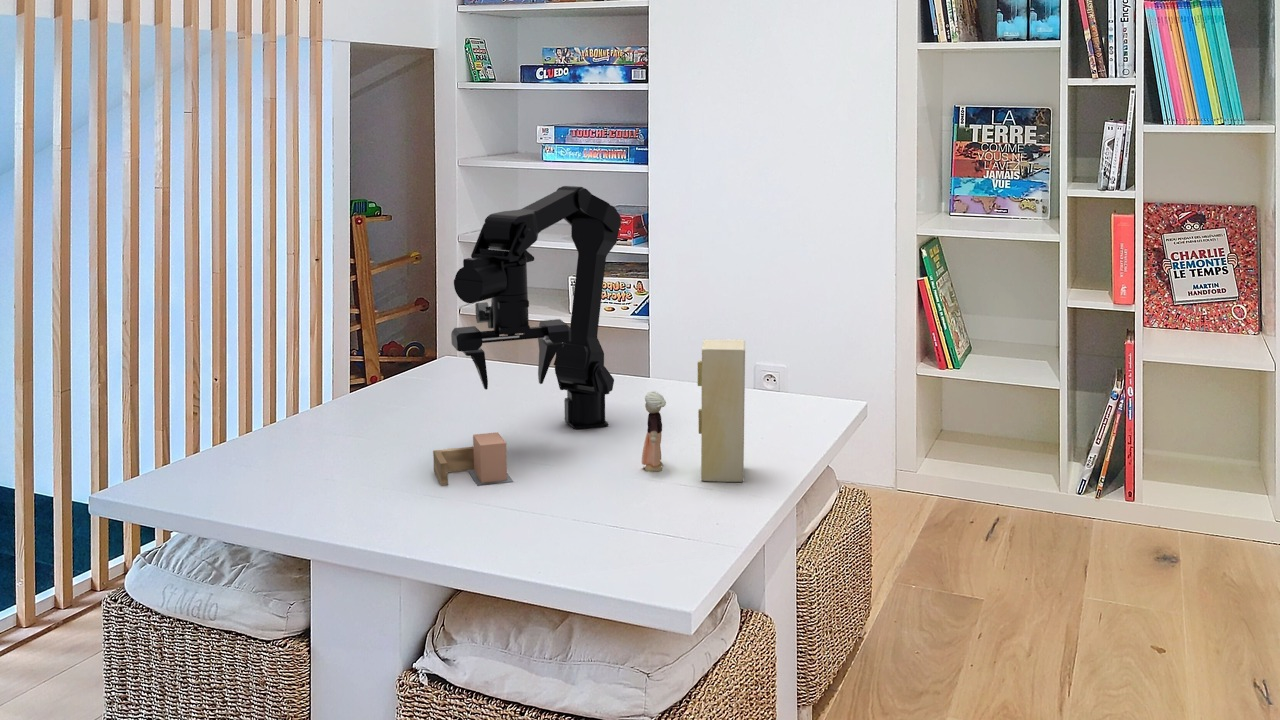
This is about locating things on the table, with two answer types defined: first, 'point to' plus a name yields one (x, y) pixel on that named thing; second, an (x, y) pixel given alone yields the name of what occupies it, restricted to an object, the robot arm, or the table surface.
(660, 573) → the table surface
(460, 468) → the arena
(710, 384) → the toy refrigerator
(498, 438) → the terracotta block
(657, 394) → the grandmother figurine
